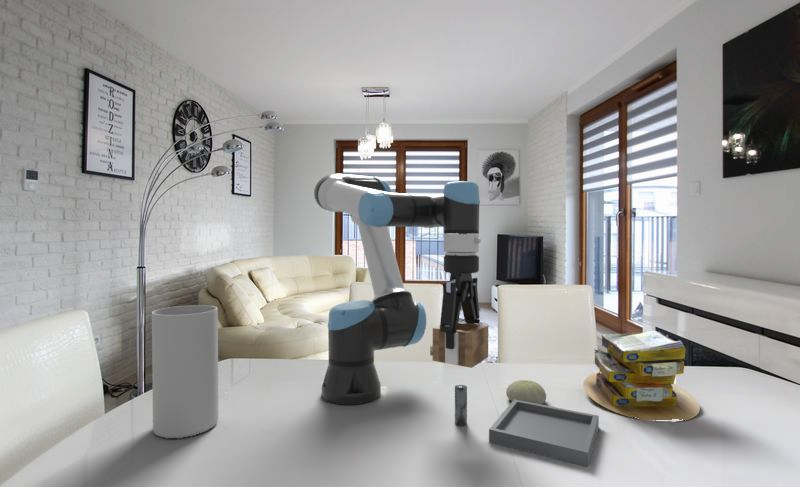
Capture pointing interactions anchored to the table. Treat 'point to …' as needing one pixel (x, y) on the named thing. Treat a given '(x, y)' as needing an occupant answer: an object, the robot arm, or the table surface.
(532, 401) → the sea urchin shell
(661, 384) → the stack of yellow boxes
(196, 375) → the cylinder vase
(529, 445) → the tray
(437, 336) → the wooden light box
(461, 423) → the grey rounded cylinder
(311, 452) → the table surface
